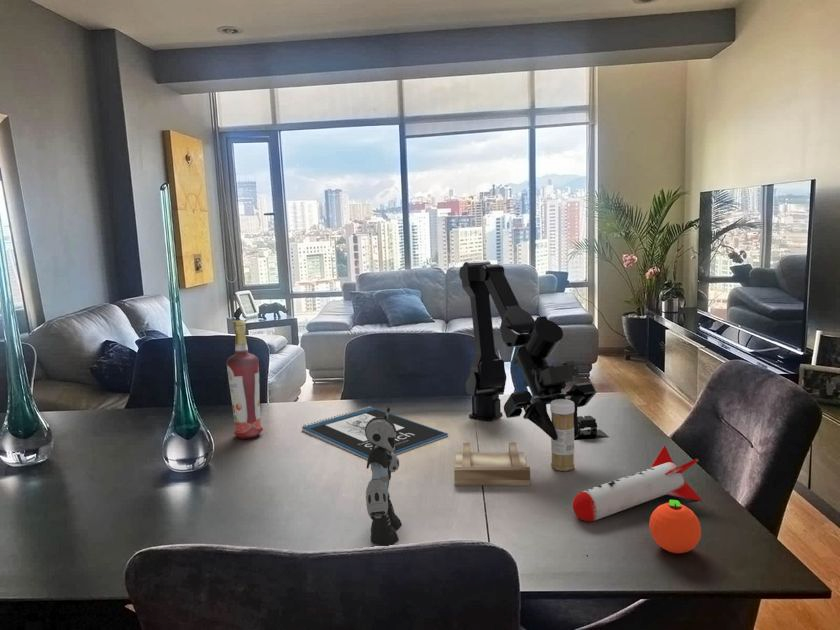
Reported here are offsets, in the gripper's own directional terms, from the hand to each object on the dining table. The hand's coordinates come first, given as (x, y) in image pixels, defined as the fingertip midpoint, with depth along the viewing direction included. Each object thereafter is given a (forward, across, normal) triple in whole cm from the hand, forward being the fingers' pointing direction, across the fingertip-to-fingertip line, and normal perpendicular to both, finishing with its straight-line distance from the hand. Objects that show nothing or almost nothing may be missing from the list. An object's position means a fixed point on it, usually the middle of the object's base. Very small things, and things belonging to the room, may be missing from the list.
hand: (566, 437), depth 114 cm
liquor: (-29, -57, +39) cm, 75 cm away
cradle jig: (0, -14, +9) cm, 16 cm away
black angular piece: (-5, +15, +16) cm, 22 cm away
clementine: (+26, -2, -16) cm, 31 cm away
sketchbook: (-21, -30, +32) cm, 48 cm away
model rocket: (+17, +2, -7) cm, 19 cm away
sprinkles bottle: (+4, 0, +6) cm, 7 cm away
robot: (+11, -40, -2) cm, 41 cm away
